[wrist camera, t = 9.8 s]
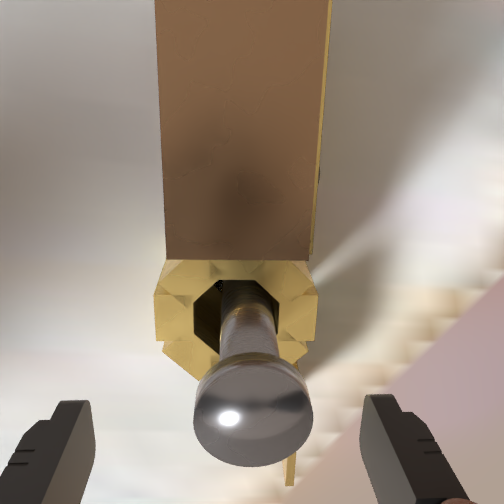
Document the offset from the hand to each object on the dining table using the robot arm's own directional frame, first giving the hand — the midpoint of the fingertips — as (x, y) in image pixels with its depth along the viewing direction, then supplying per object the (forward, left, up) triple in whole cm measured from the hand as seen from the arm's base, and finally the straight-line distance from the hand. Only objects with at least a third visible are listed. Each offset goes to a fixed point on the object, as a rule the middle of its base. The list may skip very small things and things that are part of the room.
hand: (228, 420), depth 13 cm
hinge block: (+2, 0, -12) cm, 12 cm away
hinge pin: (0, -1, -12) cm, 12 cm away
